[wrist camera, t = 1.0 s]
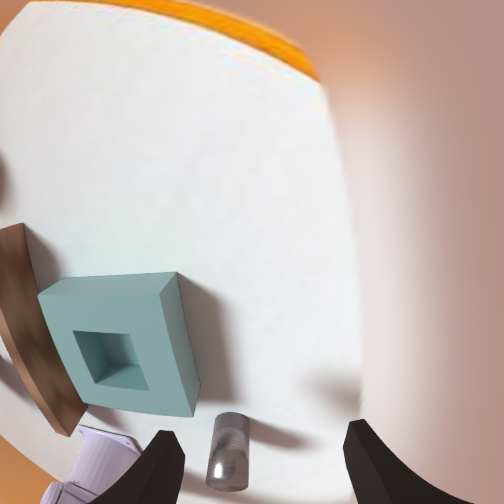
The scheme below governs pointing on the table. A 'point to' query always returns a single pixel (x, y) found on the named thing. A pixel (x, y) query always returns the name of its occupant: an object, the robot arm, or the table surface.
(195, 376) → the block
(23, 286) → the wall
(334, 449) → the table surface
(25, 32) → the table surface
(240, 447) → the dowel
